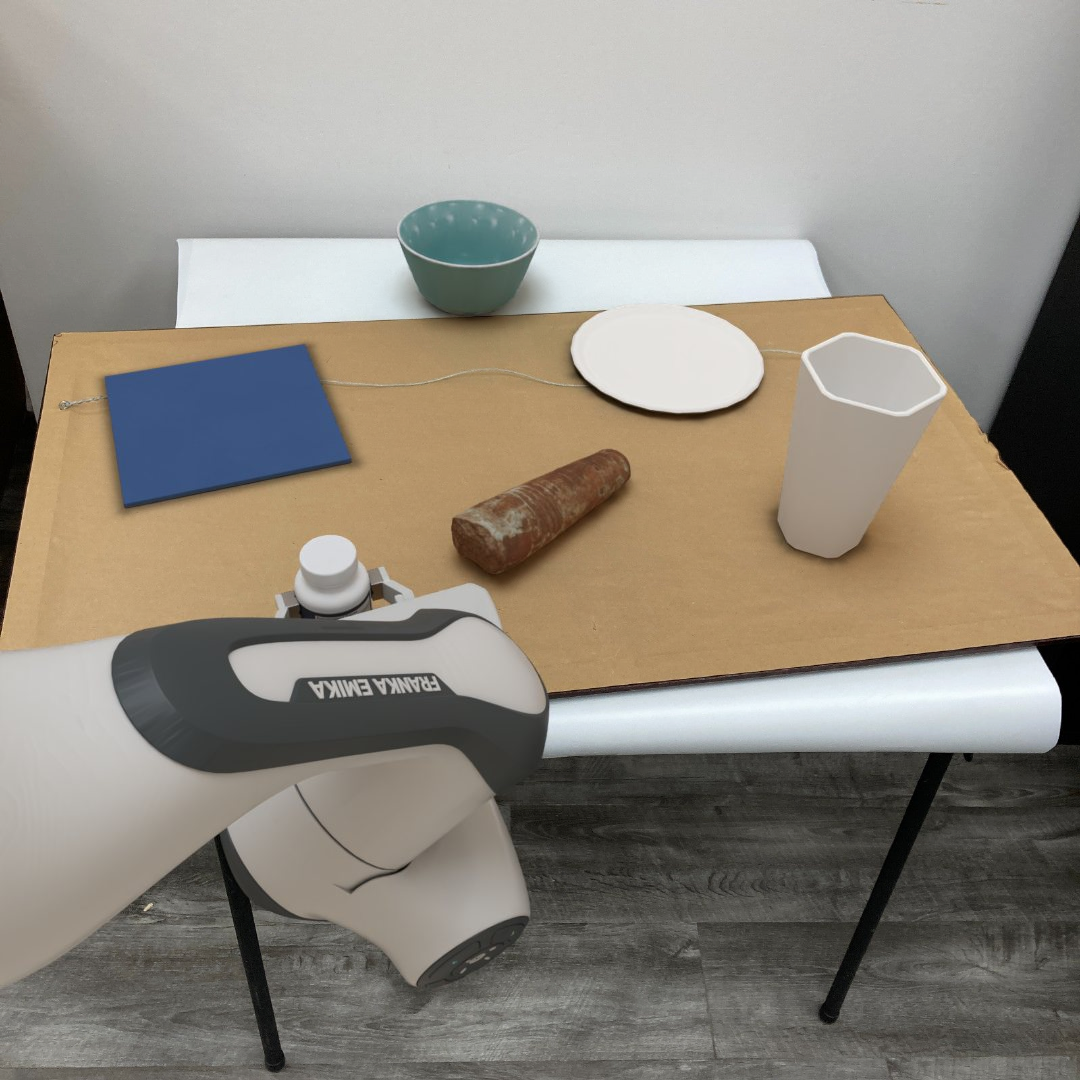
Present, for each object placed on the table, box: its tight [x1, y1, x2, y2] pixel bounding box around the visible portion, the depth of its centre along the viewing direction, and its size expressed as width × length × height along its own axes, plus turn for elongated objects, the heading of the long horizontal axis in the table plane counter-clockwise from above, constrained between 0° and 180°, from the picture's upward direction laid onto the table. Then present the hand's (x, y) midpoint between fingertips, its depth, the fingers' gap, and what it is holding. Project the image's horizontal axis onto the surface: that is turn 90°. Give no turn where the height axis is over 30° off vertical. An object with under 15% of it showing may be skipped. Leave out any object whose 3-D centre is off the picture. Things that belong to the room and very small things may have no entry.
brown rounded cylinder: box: [450, 448, 632, 575], centre depth 84 cm, size 6×19×6 cm, turn 133°
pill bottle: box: [293, 534, 373, 620], centre depth 72 cm, size 5×5×10 cm
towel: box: [104, 343, 352, 509], centre depth 94 cm, size 20×20×1 cm
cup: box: [776, 331, 948, 559], centre depth 82 cm, size 11×10×17 cm
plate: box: [570, 302, 765, 416], centre depth 105 cm, size 21×21×1 cm
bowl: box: [396, 198, 541, 317], centre depth 110 cm, size 16×16×8 cm
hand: (330, 585), depth 72 cm, fingers closed on pill bottle, 5 cm apart
